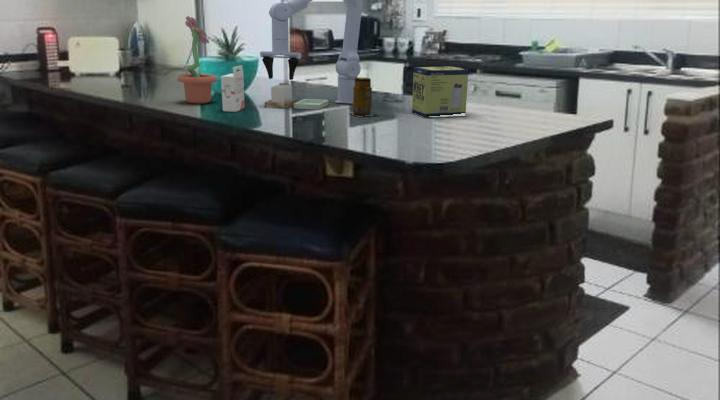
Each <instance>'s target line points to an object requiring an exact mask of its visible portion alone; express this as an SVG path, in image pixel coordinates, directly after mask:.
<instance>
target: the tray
mask: <svg viewBox="0 0 720 400" xmlns="http://www.w3.org/2000/svg"><path fill="white" fill-rule="evenodd" d="M328 105H329V100H328V99H318V98H317V99H315V98H303V99H301V100H299V101H298V100H297V102H296V103H294V106H293V108H294V109H296V110H297V109H301V110H314V111H315V110H318V111H319V110H320V109H323V108H325V107H327V106H328Z"/></svg>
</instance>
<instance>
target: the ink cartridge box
mask: <svg viewBox="0 0 720 400" xmlns="http://www.w3.org/2000/svg"><path fill="white" fill-rule="evenodd" d="M237 70H239V71H237ZM244 78H245V77H244V68H243V65H242V64H240V65H237V66H232V73H227V74H225V75H220V85H221V99H222V101H221V102H222V103H221V104H222V111H223V112H230V113H231V112H232V113H233V112H235V113H236V112H239V111H241V110H243V109H245V108H246V107H245V106H246V105H245V102H246V101H245V81H244V80H245V79H244Z"/></svg>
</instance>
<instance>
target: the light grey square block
mask: <svg viewBox="0 0 720 400" xmlns="http://www.w3.org/2000/svg"><path fill="white" fill-rule="evenodd" d="M270 93H271V94H270V96H271V97H270V98H271V99H270V100H271V102H277V103H286V102H289V101H291V100H292V85H291V84H290V83H288V82H287V83H286V82H279V83H278V84H276V85H274V86H271V87H270Z"/></svg>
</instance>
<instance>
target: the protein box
mask: <svg viewBox="0 0 720 400" xmlns="http://www.w3.org/2000/svg"><path fill="white" fill-rule="evenodd" d="M468 81H469V69H467V68H462V67H458V66H453V65H451V66H450V65H449V66H423V67H421V66H413V78H412V83H413V84H412V98H411V99H412V100H411V102H412V103H411V104H412V105H411V113H412V112H413V113H416V114H418V115H421V116H423V117H429V116H440V115H453V114H461V113H466V112H467V97H468V96H467V95H468ZM413 113H412V114H413ZM416 114H415V115H416ZM466 114H467V113H466ZM418 115H417V116H418ZM421 116H420V117H421ZM423 117H422V118H423Z"/></svg>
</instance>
